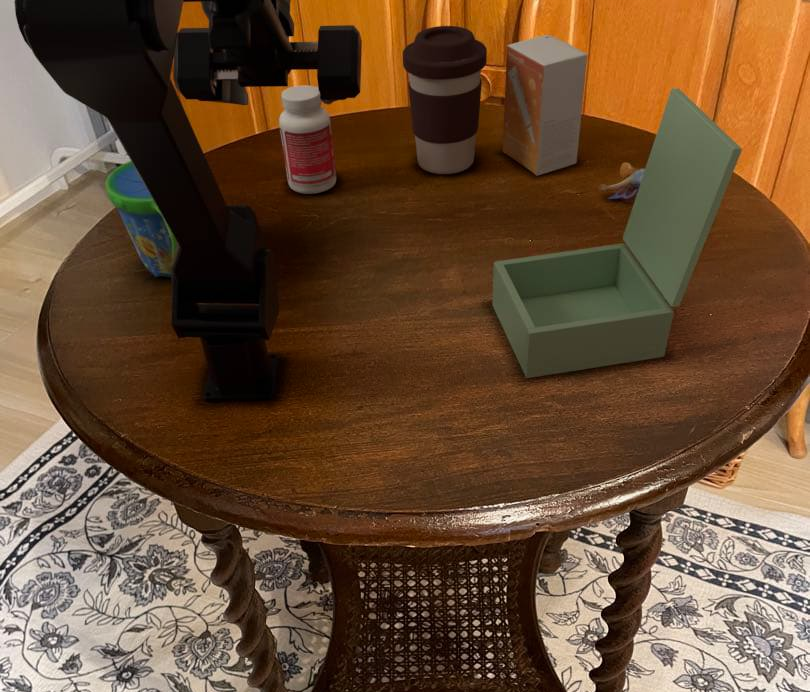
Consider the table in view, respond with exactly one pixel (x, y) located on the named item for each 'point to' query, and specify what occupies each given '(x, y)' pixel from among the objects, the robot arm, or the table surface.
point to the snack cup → (142, 219)
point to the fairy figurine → (627, 180)
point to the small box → (543, 103)
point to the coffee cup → (445, 96)
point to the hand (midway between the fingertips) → (287, 100)
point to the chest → (580, 310)
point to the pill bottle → (307, 141)
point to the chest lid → (679, 194)
